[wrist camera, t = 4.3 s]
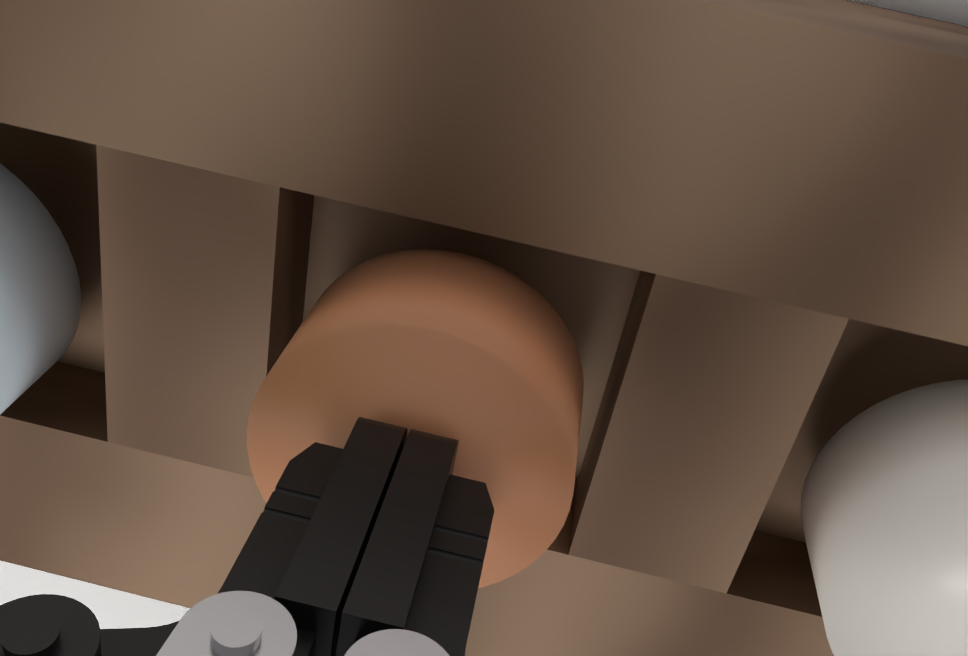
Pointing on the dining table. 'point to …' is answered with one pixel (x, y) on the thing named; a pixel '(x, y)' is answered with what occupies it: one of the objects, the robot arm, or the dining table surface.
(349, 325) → the terracotta button
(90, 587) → the dining table surface
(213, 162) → the brown slotted panel
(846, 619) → the white button
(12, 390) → the pale blue button
